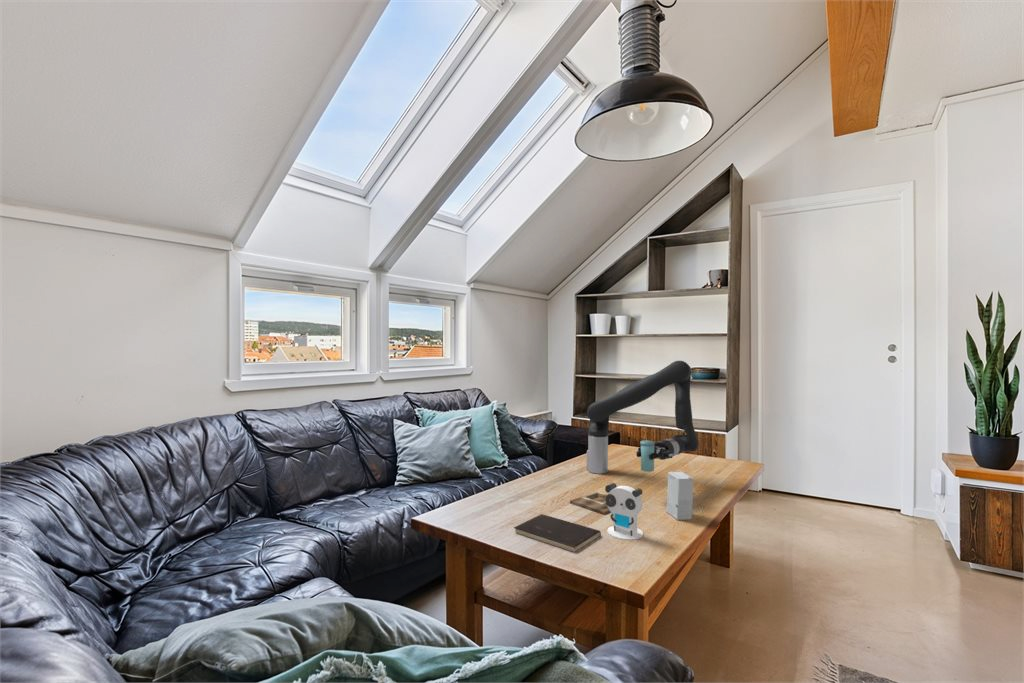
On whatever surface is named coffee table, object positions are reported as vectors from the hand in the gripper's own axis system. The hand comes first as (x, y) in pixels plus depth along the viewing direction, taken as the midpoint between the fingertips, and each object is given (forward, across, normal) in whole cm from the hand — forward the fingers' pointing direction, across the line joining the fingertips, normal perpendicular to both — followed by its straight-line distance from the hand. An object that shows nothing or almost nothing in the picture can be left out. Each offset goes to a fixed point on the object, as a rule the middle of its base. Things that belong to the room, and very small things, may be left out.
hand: (643, 455), depth 185 cm
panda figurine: (+31, +12, +18) cm, 38 cm away
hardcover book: (+48, -2, +18) cm, 52 cm away
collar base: (+15, -10, +18) cm, 25 cm away
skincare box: (+4, +17, +18) cm, 25 cm away
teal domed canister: (-3, 0, +6) cm, 7 cm away
